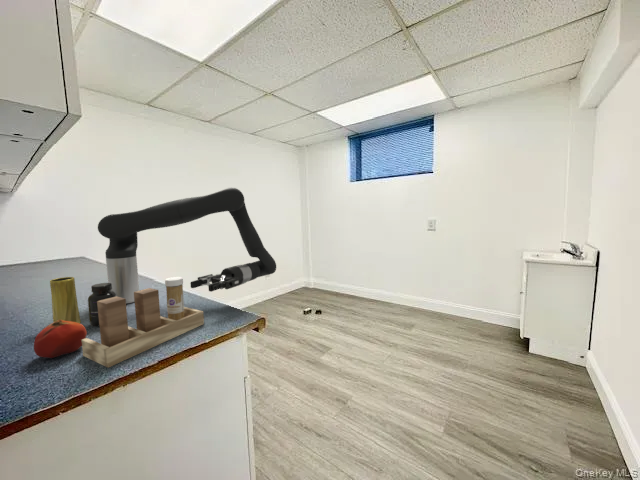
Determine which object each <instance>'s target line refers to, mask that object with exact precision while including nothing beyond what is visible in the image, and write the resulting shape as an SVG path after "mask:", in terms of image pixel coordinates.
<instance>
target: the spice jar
mask: <svg viewBox="0 0 640 480" xmlns="http://www.w3.org/2000/svg"><path fill="white" fill-rule="evenodd" d="M164 285H165V287H166V289H165V290H166V310H167V318H169V319H173V320H179V319H181V318H184V307H185V301H184V288H183V287H184V286H183V285H184V278H183V277H182V276H171V277H167V278H165V280H164Z"/></svg>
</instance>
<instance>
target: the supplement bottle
mask: <svg viewBox="0 0 640 480" xmlns="http://www.w3.org/2000/svg"><path fill="white" fill-rule="evenodd" d="M111 290H112V284H111V283H108V282H102V283H101V282H100V283H96V284H92V285H91V290H90V291H91V294H90V295H89V296H88V298H87V306H88V316H89V317H88V318H89V324H90V326H92V327H100V325H99V315H98V305H97V301H100V300H104V299H108V298H112V297H116V296H117V295H116V293H115V292H113V291H111Z"/></svg>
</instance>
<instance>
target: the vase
mask: <svg viewBox="0 0 640 480" xmlns="http://www.w3.org/2000/svg"><path fill="white" fill-rule="evenodd" d="M49 286H50V294H51V309H52V321H53V322H55V321H57V320H63V321H71V322H76V323H80V324H82V323H81V322H82V320H81V317H80V311H79V304H78V296H77V290H76V281H75V277H73V276H65V277H58V278H53V279H50V280H49ZM53 322H52V323H53Z"/></svg>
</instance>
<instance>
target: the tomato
mask: <svg viewBox="0 0 640 480" xmlns="http://www.w3.org/2000/svg"><path fill="white" fill-rule="evenodd" d="M87 334H88V332H87V329H86V327H85V326H84V325H83V324H82V323H76V322H71V321H63V320H57V321H55V322H52V323H49V324H48V325H46V326H45V327H44V328H43V329H42V330H41V331H39V332H38V333H37V335H36V336H35V338H34V341H33V351H34V353H35V355H36V356H38V357H40V358H47V359H49V358H50V359H54V358H57V357H60V356H63V355H67V354H71V353H74V352H76V351H78V350H79V349H80V348H82V341H81V340H82V339H85V338H87Z"/></svg>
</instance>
